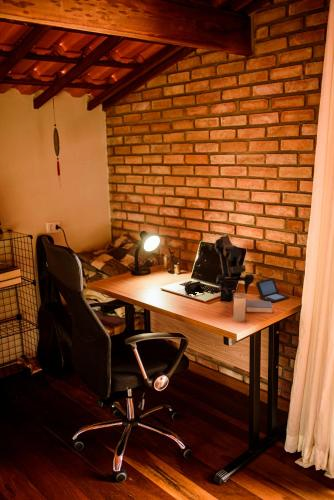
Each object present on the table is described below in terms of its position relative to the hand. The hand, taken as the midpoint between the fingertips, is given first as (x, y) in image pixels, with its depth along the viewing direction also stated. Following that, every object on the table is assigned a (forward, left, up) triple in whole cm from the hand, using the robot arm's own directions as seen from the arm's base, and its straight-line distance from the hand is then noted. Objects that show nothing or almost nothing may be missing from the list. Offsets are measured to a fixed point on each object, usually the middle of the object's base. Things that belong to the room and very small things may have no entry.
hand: (237, 294), depth 237 cm
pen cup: (+2, -5, -12) cm, 13 cm away
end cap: (-31, +26, -12) cm, 42 cm away
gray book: (+8, +14, -12) cm, 20 cm away
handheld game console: (+13, +37, -12) cm, 41 cm away
